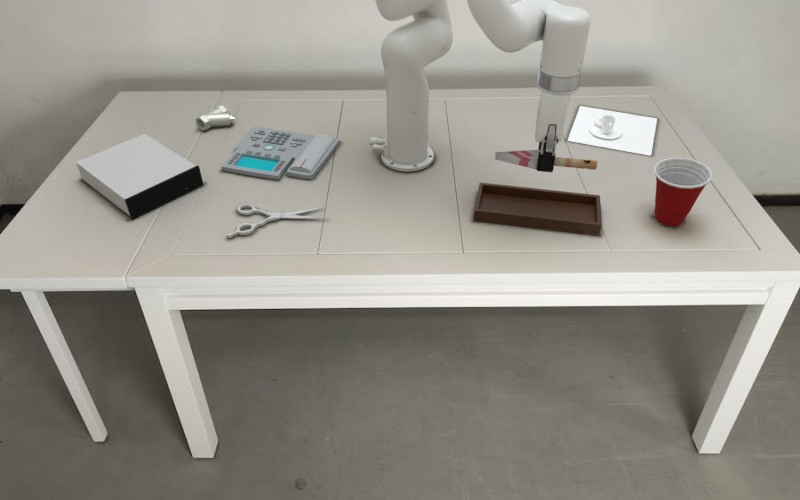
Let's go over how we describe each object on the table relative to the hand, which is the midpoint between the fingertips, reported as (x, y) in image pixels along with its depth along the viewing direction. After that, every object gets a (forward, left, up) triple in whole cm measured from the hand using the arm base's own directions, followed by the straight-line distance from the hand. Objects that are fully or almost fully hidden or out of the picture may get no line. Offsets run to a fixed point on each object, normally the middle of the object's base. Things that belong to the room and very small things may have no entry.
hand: (544, 164), depth 128 cm
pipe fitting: (-82, +22, -12) cm, 86 cm away
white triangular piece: (+18, +40, -12) cm, 46 cm away
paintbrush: (0, 0, -1) cm, 1 cm away
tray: (0, 0, -12) cm, 12 cm away
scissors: (-53, -13, -12) cm, 56 cm away
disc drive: (-88, -6, -12) cm, 89 cm away
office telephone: (-61, +11, -12) cm, 63 cm away
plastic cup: (+27, +3, -12) cm, 30 cm away
